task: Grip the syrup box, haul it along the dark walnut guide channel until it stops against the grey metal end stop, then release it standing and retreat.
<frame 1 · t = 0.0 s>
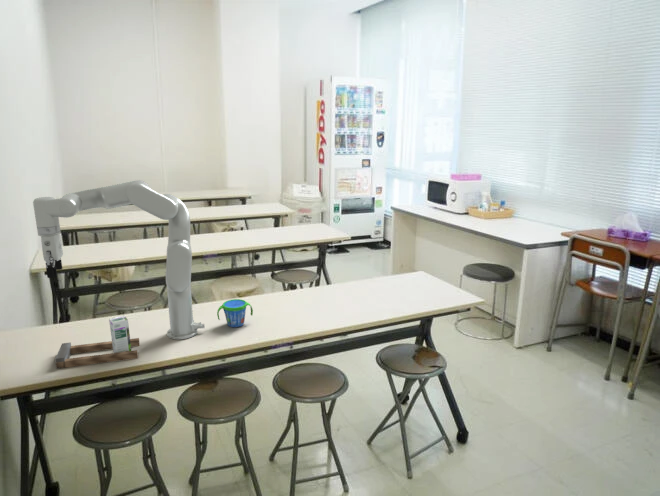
hand: (55, 273, 189), 31 cm above the table, fingers open, 9 cm apart
guide channel: (100, 355, 190), on the table
snack cup: (235, 324, 220), on the table
syrup box: (122, 353, 193), resting in guide channel
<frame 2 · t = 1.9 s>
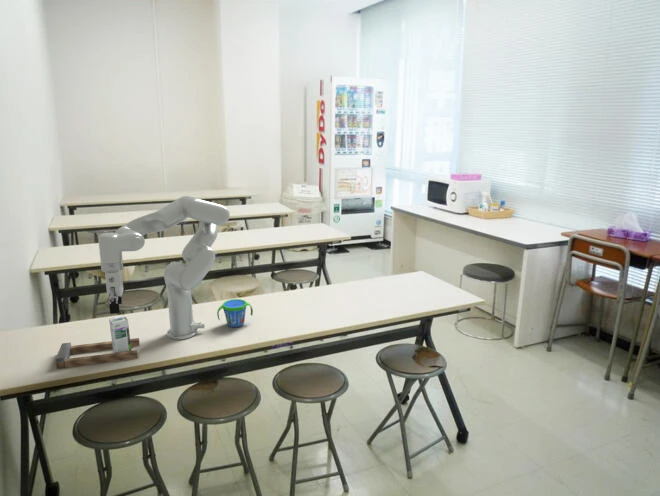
hand: (116, 308, 187), 19 cm above the table, fingers open, 9 cm apart
nothing on the table moved.
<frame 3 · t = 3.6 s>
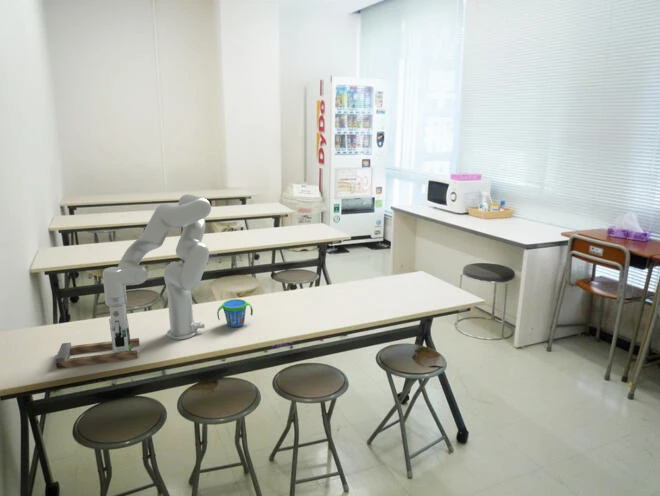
hand: (121, 341, 191), 5 cm above the table, fingers closed on syrup box, 7 cm apart
syrup box: (122, 353, 193), resting in guide channel, touching gripper
everything else where it was.
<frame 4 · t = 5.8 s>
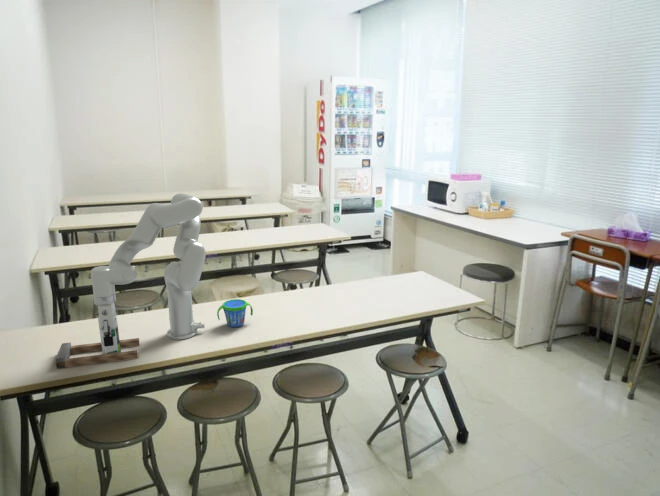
hand: (110, 341, 190), 6 cm above the table, fingers closed on syrup box, 7 cm apart
syrup box: (111, 352, 191), point 1 cm above the table, touching gripper
everything else where it was.
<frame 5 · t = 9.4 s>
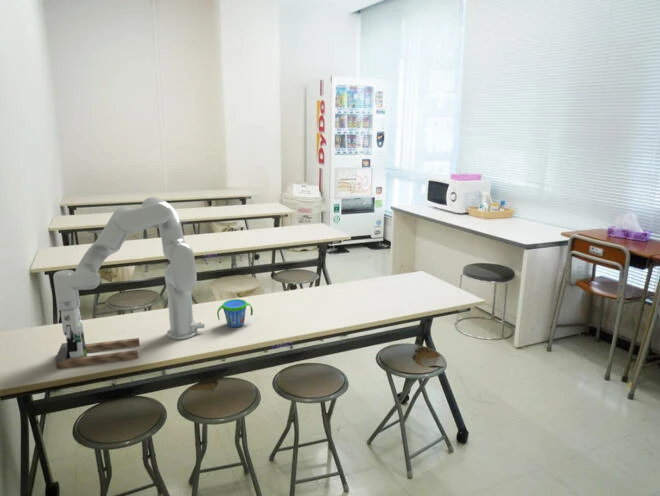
hand: (74, 346, 187), 5 cm above the table, fingers closed on syrup box, 6 cm apart
syrup box: (78, 358, 188), resting in guide channel, touching gripper
everything else where it was.
when the fingers open (5 cm above the table, at t = 9.6 s): syrup box stays where it is, resting in guide channel.
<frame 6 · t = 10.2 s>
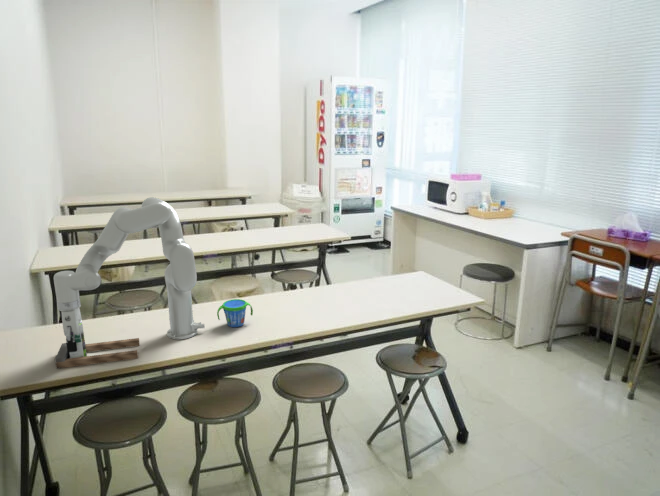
hand: (74, 345, 186), 5 cm above the table, fingers open, 9 cm apart
syrup box: (78, 358, 188), resting in guide channel
everything else where it was.
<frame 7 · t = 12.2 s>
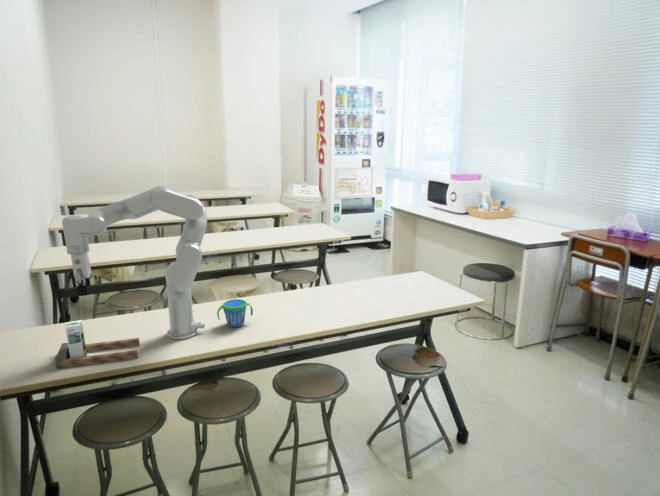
hand: (84, 290, 190), 24 cm above the table, fingers open, 9 cm apart
nothing on the table moved.
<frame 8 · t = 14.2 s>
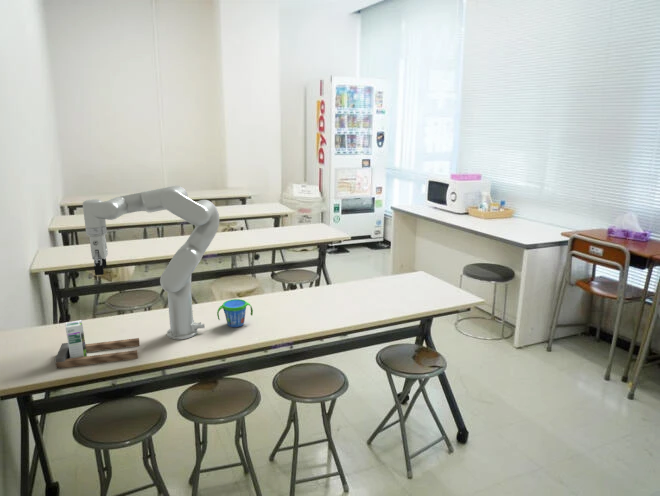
hand: (101, 271, 201), 28 cm above the table, fingers open, 9 cm apart
nothing on the table moved.
at the end: syrup box 0.4 cm from the target spot on the guide channel, point 0.0 cm above the guide channel's base; syrup box tilted 0°; the gripper is holding nothing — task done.
